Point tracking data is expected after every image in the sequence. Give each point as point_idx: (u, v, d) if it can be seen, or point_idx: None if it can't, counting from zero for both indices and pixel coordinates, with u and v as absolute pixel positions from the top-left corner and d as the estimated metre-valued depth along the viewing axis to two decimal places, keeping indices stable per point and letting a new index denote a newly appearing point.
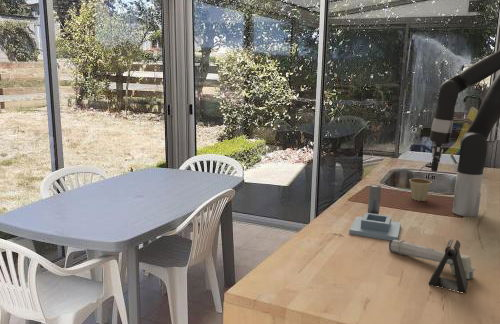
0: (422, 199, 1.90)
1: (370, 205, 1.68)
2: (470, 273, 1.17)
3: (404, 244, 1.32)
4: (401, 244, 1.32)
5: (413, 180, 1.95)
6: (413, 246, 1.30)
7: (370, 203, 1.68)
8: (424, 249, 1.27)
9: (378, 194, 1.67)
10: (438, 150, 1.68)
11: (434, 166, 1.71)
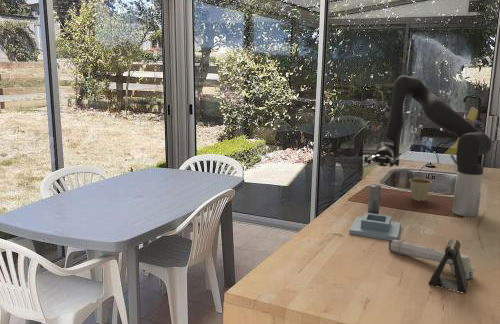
0: (422, 199, 1.90)
1: (370, 205, 1.68)
2: (470, 273, 1.17)
3: (404, 244, 1.32)
4: (401, 244, 1.32)
5: (413, 180, 1.95)
6: (413, 246, 1.30)
7: (370, 203, 1.68)
8: (424, 249, 1.27)
9: (378, 194, 1.67)
10: None
11: None
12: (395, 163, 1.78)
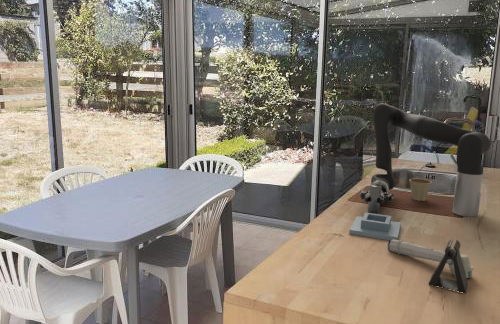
0: (422, 199, 1.90)
1: (370, 205, 1.68)
2: (469, 272, 1.18)
3: (403, 244, 1.32)
4: (400, 244, 1.32)
5: (413, 180, 1.95)
6: (412, 246, 1.30)
7: (370, 203, 1.68)
8: (423, 249, 1.27)
9: (378, 194, 1.67)
10: (360, 193, 1.77)
11: (365, 198, 1.70)
12: (385, 200, 1.69)
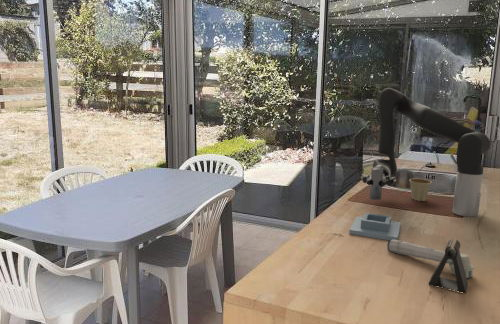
0: (422, 199, 1.90)
1: (372, 188, 1.66)
2: (469, 272, 1.18)
3: (403, 244, 1.32)
4: (400, 244, 1.32)
5: (413, 180, 1.95)
6: (412, 246, 1.30)
7: (372, 186, 1.66)
8: (423, 249, 1.27)
9: (380, 177, 1.65)
10: (362, 177, 1.75)
11: (367, 181, 1.68)
12: (387, 182, 1.67)
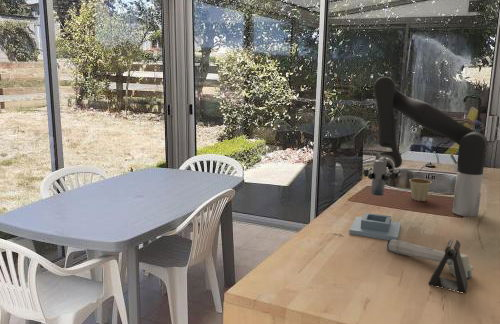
0: (422, 199, 1.90)
1: (374, 182, 1.50)
2: (468, 272, 1.18)
3: (402, 244, 1.32)
4: (399, 244, 1.33)
5: (413, 180, 1.95)
6: (411, 246, 1.30)
7: (374, 180, 1.50)
8: (422, 249, 1.27)
9: (383, 170, 1.48)
10: (363, 170, 1.58)
11: None
12: (391, 176, 1.50)
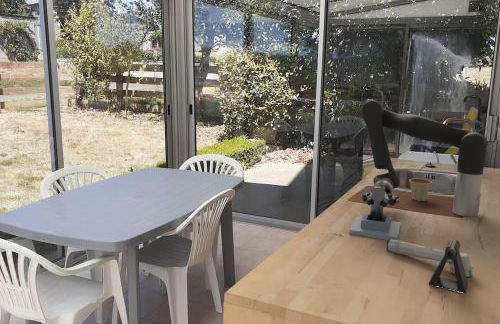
0: (422, 199, 1.90)
1: (373, 208, 1.51)
2: (469, 271, 1.19)
3: (402, 244, 1.32)
4: (399, 244, 1.32)
5: (413, 180, 1.95)
6: (411, 245, 1.30)
7: (373, 206, 1.51)
8: (422, 248, 1.27)
9: (382, 196, 1.49)
10: (361, 194, 1.59)
11: None
12: (389, 202, 1.52)
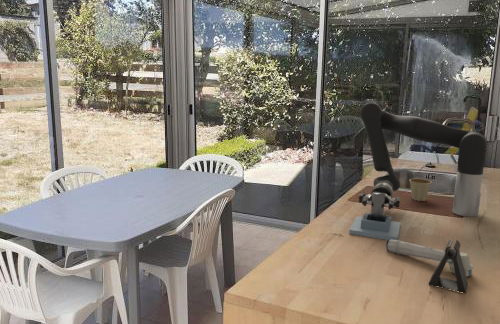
0: (422, 199, 1.90)
1: (373, 215, 1.52)
2: (469, 271, 1.19)
3: (401, 244, 1.32)
4: (398, 244, 1.33)
5: (413, 180, 1.95)
6: (411, 245, 1.30)
7: (373, 212, 1.52)
8: (422, 248, 1.28)
9: (382, 202, 1.50)
10: None
11: None
12: (395, 204, 1.52)
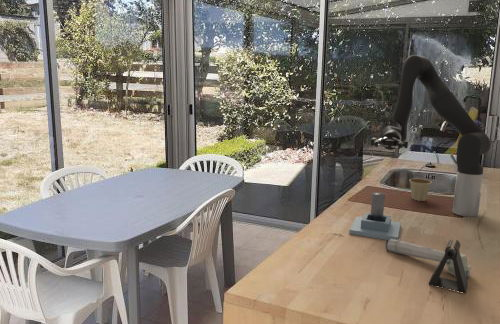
0: (422, 199, 1.90)
1: (372, 215, 1.51)
2: (466, 272, 1.18)
3: (401, 243, 1.32)
4: (398, 243, 1.33)
5: (413, 180, 1.95)
6: (410, 245, 1.30)
7: (372, 213, 1.51)
8: (421, 248, 1.28)
9: (381, 203, 1.50)
10: None
11: None
12: (404, 145, 1.68)
